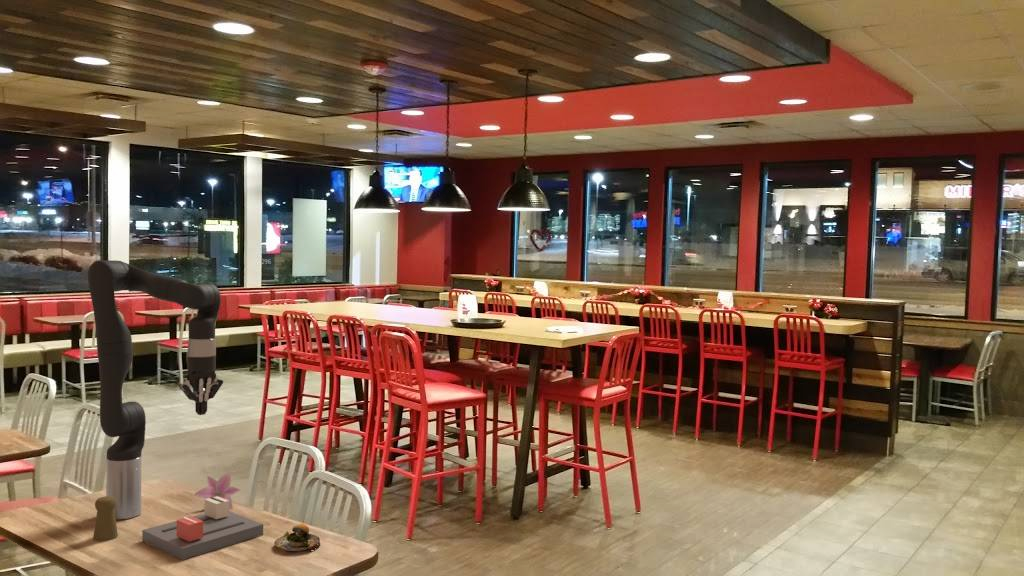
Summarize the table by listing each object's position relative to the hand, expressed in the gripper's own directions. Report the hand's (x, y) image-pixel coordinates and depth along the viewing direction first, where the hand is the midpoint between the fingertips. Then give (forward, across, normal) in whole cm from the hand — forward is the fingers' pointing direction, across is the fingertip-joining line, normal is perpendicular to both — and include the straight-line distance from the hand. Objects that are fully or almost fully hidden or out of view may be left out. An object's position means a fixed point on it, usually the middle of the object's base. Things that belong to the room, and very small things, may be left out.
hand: (201, 414), depth 225 cm
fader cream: (+29, -2, +5) cm, 29 cm away
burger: (+32, -8, +34) cm, 48 cm away
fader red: (+29, +12, +15) cm, 34 cm away
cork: (+32, +22, -10) cm, 40 cm away
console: (+32, +5, +10) cm, 34 cm away
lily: (+32, -12, -10) cm, 36 cm away
